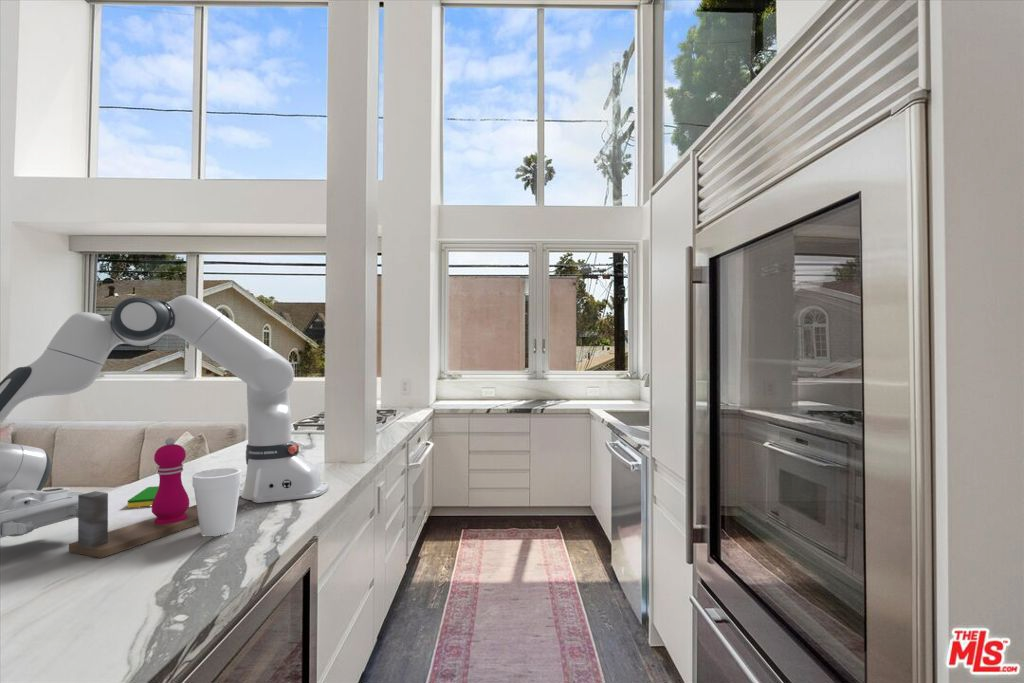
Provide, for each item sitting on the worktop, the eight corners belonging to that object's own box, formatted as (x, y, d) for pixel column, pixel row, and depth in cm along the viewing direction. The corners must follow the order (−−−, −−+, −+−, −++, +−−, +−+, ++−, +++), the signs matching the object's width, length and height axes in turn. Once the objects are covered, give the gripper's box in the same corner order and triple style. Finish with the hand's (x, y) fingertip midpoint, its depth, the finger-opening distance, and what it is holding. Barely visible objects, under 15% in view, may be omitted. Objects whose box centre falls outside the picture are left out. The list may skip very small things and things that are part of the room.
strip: (199, 509, 128) (199, 464, 128) (228, 514, 124) (228, 467, 124) (68, 551, 102) (69, 493, 102) (100, 558, 98) (100, 498, 98)
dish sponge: (176, 493, 145) (176, 484, 145) (159, 507, 132) (159, 498, 132) (147, 495, 143) (147, 486, 143) (126, 510, 130) (126, 500, 130)
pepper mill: (171, 531, 112) (170, 441, 112) (143, 529, 113) (142, 440, 113) (197, 520, 119) (196, 435, 119) (170, 518, 120) (169, 434, 120)
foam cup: (250, 527, 115) (250, 470, 115) (211, 542, 106) (211, 479, 106) (222, 522, 119) (222, 466, 119) (183, 535, 110) (183, 475, 110)
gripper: (-53, 513, 95) (-12, 521, 90) (74, 485, 114) (113, 490, 109) (-53, 546, 95) (-12, 556, 90) (74, 513, 114) (113, 520, 109)
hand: (58, 520), depth 100 cm, fingers open, 8 cm apart
